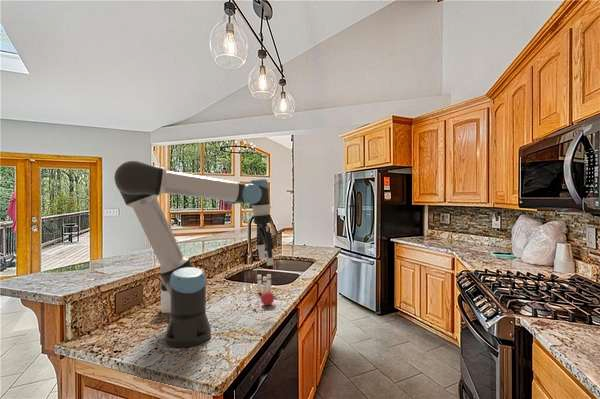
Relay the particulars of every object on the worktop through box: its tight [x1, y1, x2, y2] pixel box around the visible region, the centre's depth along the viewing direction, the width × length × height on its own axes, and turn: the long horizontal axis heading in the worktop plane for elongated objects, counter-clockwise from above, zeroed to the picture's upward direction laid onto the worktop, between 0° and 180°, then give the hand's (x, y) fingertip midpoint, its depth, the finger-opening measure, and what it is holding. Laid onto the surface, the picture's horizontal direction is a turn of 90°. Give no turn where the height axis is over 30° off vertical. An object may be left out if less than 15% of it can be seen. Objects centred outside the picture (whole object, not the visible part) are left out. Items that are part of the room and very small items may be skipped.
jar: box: [160, 282, 171, 314], centre depth 135 cm, size 9×8×12 cm
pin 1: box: [256, 274, 262, 294], centre depth 160 cm, size 2×2×9 cm
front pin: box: [262, 276, 267, 294], centre depth 156 cm, size 2×2×9 cm
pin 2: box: [266, 273, 272, 293], centre depth 161 cm, size 2×2×9 cm
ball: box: [260, 291, 275, 306], centre depth 141 cm, size 6×6×6 cm
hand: (266, 261), depth 137 cm, fingers open, 13 cm apart
